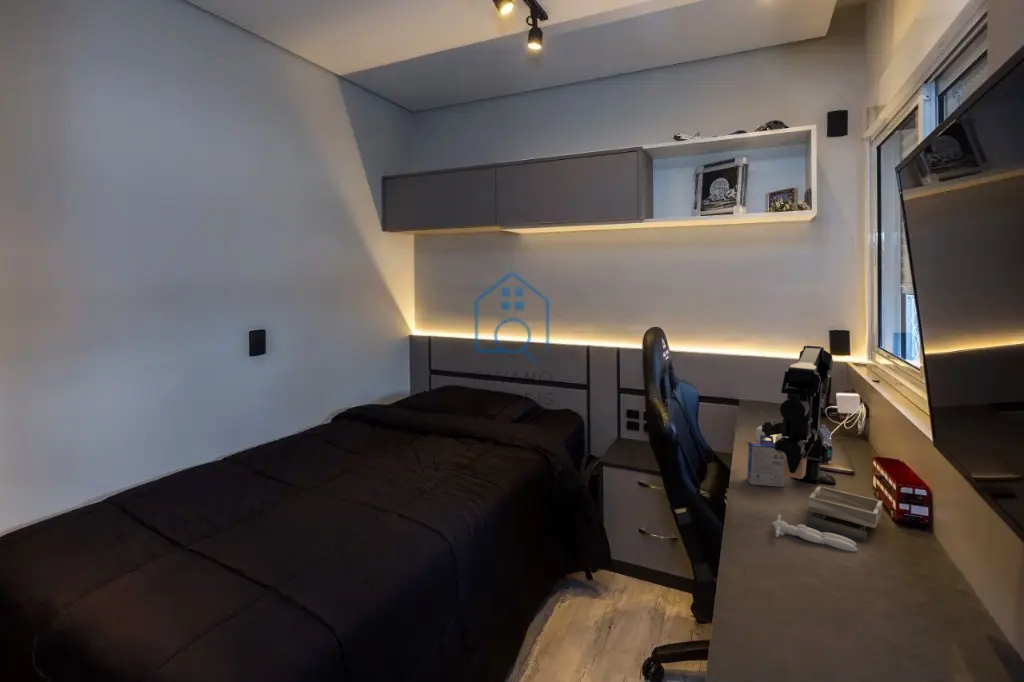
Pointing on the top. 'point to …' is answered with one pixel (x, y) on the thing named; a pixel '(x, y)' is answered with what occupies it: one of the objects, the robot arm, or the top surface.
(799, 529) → the decorative figure
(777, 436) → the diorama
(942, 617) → the top surface
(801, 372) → the robot arm
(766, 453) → the ink cartridge box
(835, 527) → the framed panel
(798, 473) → the block
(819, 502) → the beige open rectangular box
